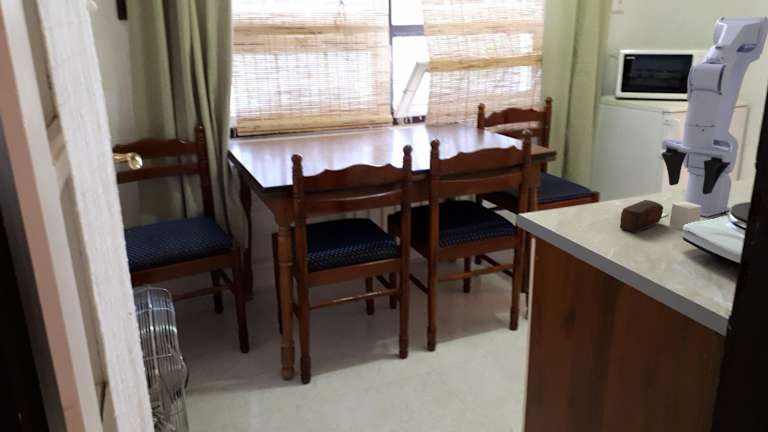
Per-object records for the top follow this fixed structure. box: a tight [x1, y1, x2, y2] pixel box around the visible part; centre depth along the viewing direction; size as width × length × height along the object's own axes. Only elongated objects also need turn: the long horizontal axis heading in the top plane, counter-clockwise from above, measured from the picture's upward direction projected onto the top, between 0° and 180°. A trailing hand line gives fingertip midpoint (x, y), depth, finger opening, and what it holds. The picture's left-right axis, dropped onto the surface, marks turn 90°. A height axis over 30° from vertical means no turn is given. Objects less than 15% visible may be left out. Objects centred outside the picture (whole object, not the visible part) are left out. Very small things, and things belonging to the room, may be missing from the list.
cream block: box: [668, 200, 702, 231], centre depth 126 cm, size 4×4×5 cm
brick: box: [619, 199, 664, 233], centre depth 127 cm, size 11×4×5 cm, turn 129°
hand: (689, 188), depth 124 cm, fingers open, 7 cm apart
